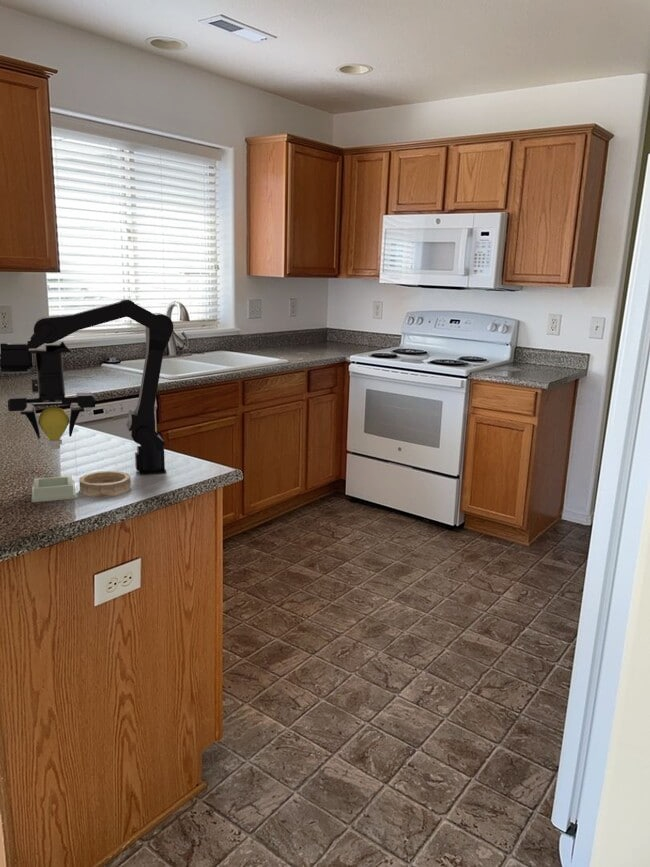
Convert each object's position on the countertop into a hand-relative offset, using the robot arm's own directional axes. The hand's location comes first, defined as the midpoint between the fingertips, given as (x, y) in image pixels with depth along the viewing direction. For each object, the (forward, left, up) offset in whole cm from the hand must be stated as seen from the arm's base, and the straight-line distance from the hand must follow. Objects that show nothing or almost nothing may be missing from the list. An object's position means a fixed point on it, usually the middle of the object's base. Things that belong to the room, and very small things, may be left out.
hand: (54, 437), depth 159 cm
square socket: (+1, +12, -10) cm, 16 cm away
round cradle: (-10, +12, -10) cm, 19 cm away
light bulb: (0, 0, -3) cm, 3 cm away
